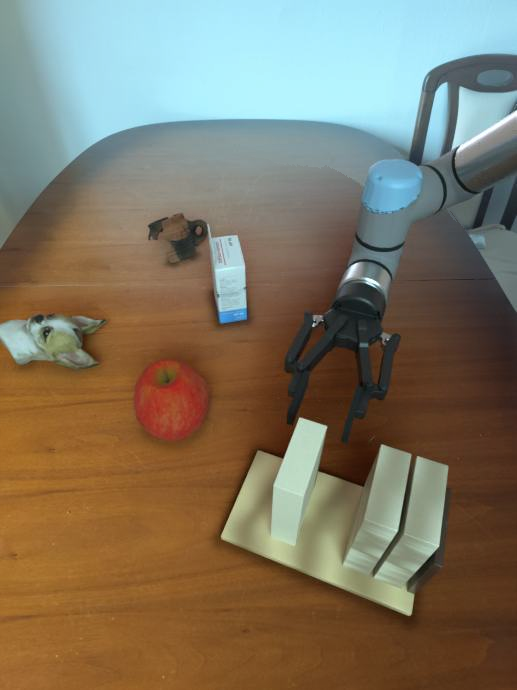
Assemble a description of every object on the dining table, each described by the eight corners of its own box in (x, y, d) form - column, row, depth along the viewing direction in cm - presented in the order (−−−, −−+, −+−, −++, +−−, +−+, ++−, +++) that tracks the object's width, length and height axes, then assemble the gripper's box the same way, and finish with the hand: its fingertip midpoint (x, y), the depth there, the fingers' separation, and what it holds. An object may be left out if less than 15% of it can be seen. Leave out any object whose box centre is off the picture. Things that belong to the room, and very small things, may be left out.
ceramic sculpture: (-1, 292, 69) (100, 290, 70) (18, 331, 75) (110, 328, 77) (-23, 345, 62) (90, 341, 63) (1, 383, 68) (102, 378, 70)
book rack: (424, 512, 55) (466, 453, 44) (409, 616, 48) (455, 577, 37) (257, 453, 61) (257, 387, 49) (221, 539, 53) (210, 484, 42)
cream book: (315, 484, 57) (328, 425, 46) (295, 546, 52) (304, 496, 41) (291, 475, 58) (299, 416, 47) (269, 536, 53) (272, 485, 42)
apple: (215, 389, 68) (209, 342, 60) (207, 451, 61) (199, 407, 53) (147, 387, 68) (132, 340, 60) (132, 448, 61) (113, 405, 53)
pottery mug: (155, 270, 87) (138, 228, 84) (163, 260, 96) (148, 222, 93) (214, 251, 86) (199, 208, 83) (217, 242, 95) (203, 203, 92)
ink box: (247, 320, 77) (245, 250, 66) (219, 324, 77) (212, 254, 66) (240, 288, 83) (237, 218, 72) (213, 291, 82) (206, 221, 71)
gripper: (419, 334, 67) (392, 469, 53) (297, 303, 72) (242, 419, 57) (434, 296, 61) (408, 436, 47) (301, 265, 66) (240, 384, 52)
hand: (317, 427), depth 52 cm, fingers open, 6 cm apart
